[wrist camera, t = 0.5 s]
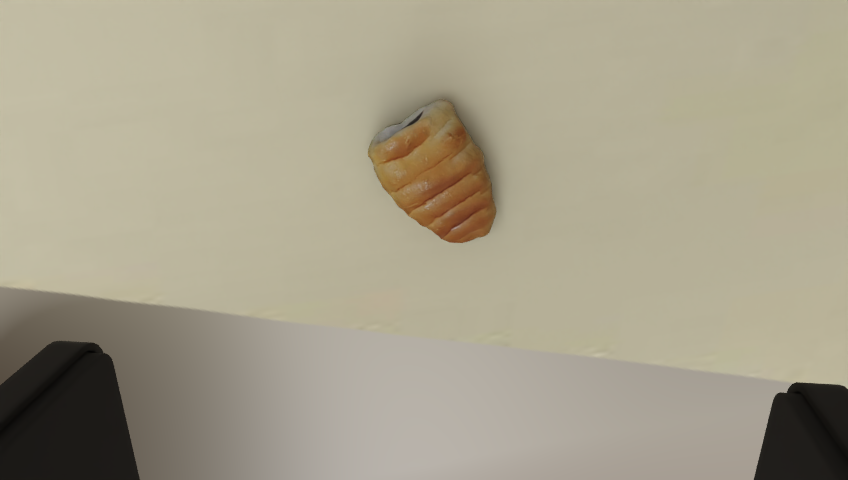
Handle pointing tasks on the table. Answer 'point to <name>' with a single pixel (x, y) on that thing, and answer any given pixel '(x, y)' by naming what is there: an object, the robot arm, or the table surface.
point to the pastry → (436, 173)
